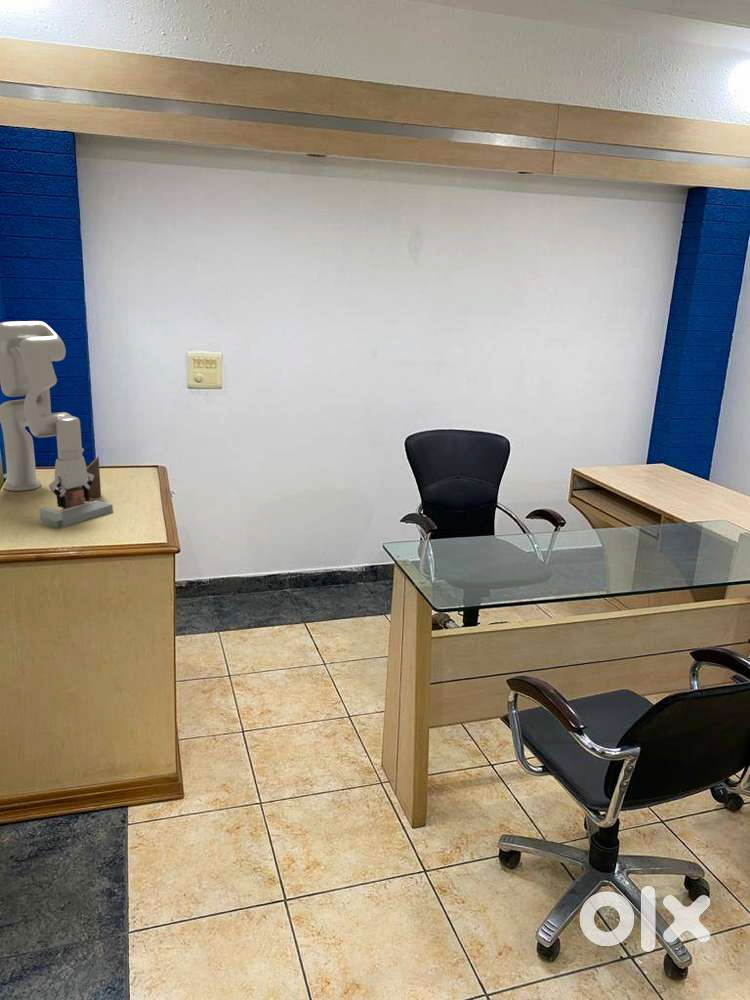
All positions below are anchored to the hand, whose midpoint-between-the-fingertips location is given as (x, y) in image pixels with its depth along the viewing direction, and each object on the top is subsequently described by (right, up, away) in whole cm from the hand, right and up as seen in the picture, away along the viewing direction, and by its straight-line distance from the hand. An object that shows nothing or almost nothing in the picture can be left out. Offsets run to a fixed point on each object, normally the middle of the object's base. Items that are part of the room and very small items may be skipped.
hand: (73, 503), depth 266 cm
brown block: (+1, -2, 0) cm, 2 cm away
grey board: (+4, -5, -7) cm, 10 cm away
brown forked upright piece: (-2, +2, +15) cm, 15 cm away
